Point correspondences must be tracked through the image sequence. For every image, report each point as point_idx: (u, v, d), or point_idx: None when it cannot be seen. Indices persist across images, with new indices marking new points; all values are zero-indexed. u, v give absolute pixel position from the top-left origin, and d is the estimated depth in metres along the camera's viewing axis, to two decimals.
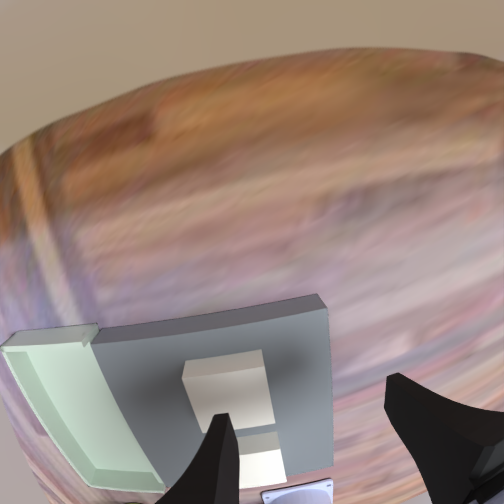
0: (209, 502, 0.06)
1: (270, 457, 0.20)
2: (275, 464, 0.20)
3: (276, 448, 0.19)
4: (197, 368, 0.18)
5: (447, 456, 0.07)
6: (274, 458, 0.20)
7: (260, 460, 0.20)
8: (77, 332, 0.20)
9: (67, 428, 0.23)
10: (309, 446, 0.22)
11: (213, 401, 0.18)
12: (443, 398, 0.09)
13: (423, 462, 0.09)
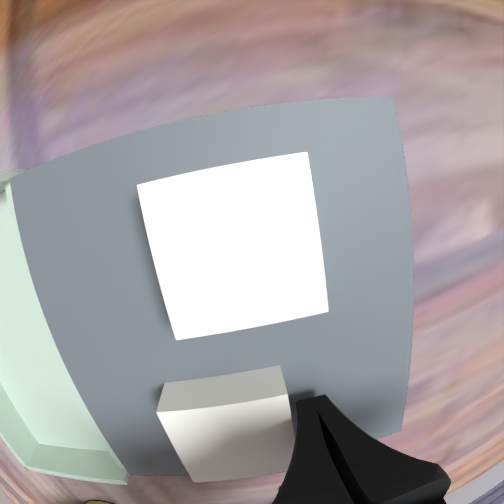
0: (336, 482, 0.06)
1: (268, 414, 0.11)
2: (278, 431, 0.11)
3: (279, 393, 0.11)
4: None
5: (350, 495, 0.07)
6: (276, 417, 0.11)
7: (248, 420, 0.11)
8: None
9: None
10: (371, 391, 0.13)
11: (199, 244, 0.09)
12: (358, 430, 0.09)
13: None
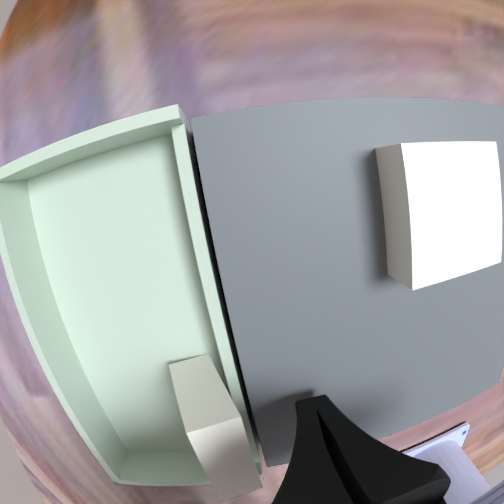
0: (336, 482, 0.06)
1: None
2: None
3: (187, 427, 0.09)
4: None
5: (351, 495, 0.07)
6: None
7: None
8: None
9: (83, 371, 0.14)
10: (491, 342, 0.13)
11: (442, 201, 0.09)
12: (358, 430, 0.09)
13: None
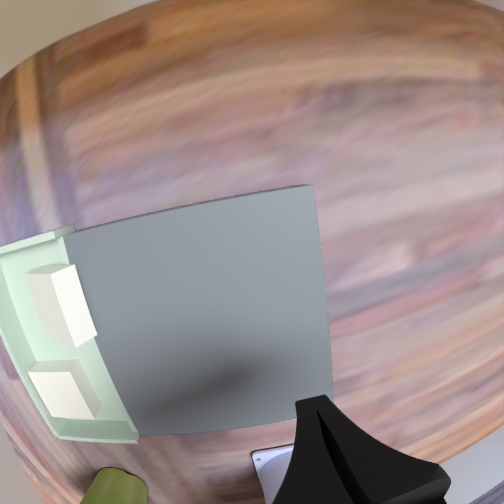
0: (336, 482, 0.06)
1: None
2: None
3: (39, 361, 0.21)
4: (37, 269, 0.18)
5: (351, 495, 0.07)
6: None
7: None
8: (52, 230, 0.18)
9: None
10: (303, 377, 0.21)
11: (39, 301, 0.18)
12: (358, 430, 0.09)
13: None
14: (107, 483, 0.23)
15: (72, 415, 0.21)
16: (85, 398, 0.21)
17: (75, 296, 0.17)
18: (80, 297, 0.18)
